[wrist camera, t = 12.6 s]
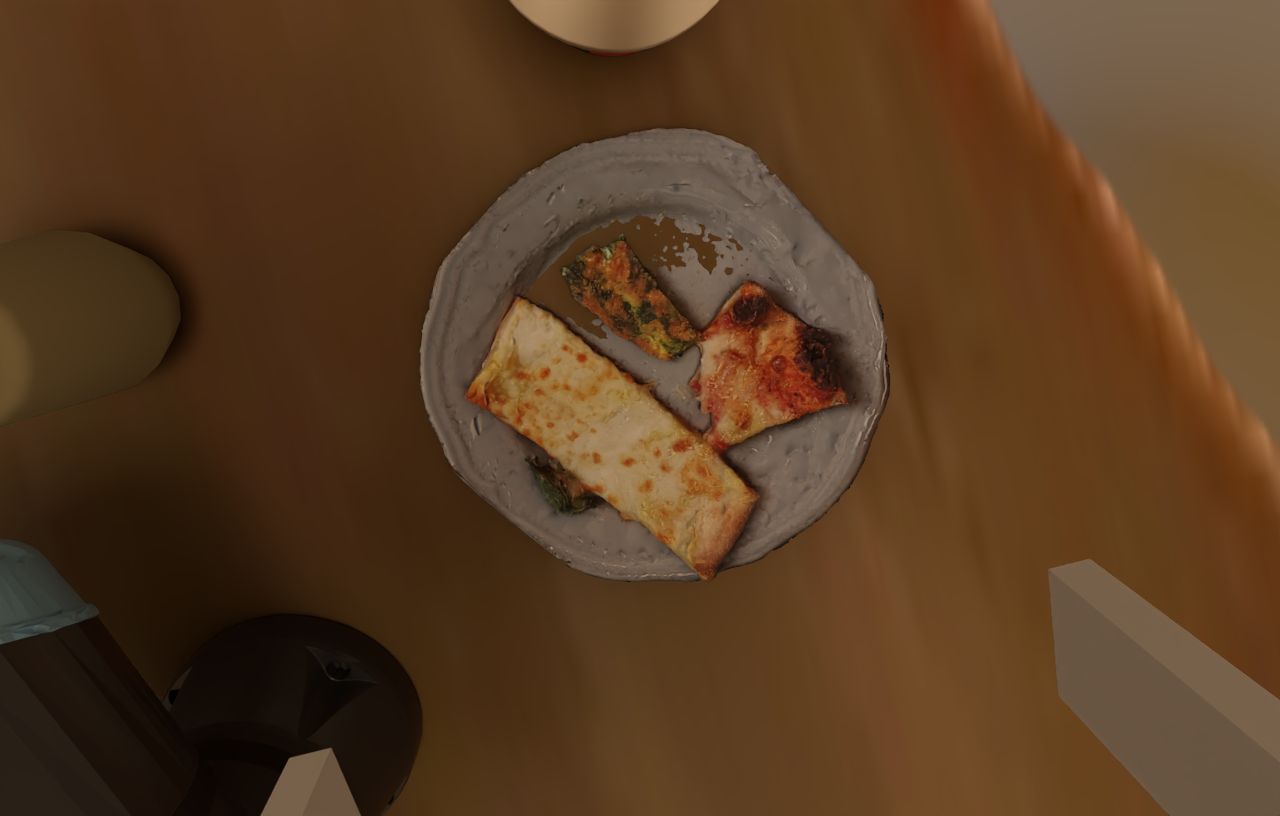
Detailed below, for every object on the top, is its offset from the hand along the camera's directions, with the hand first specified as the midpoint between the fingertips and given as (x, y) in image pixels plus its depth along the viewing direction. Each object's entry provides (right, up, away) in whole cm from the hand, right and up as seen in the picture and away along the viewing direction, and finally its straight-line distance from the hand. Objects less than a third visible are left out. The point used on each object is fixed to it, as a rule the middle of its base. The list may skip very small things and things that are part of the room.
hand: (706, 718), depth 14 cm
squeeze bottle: (-28, +11, +27) cm, 41 cm away
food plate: (0, +8, +30) cm, 31 cm away
